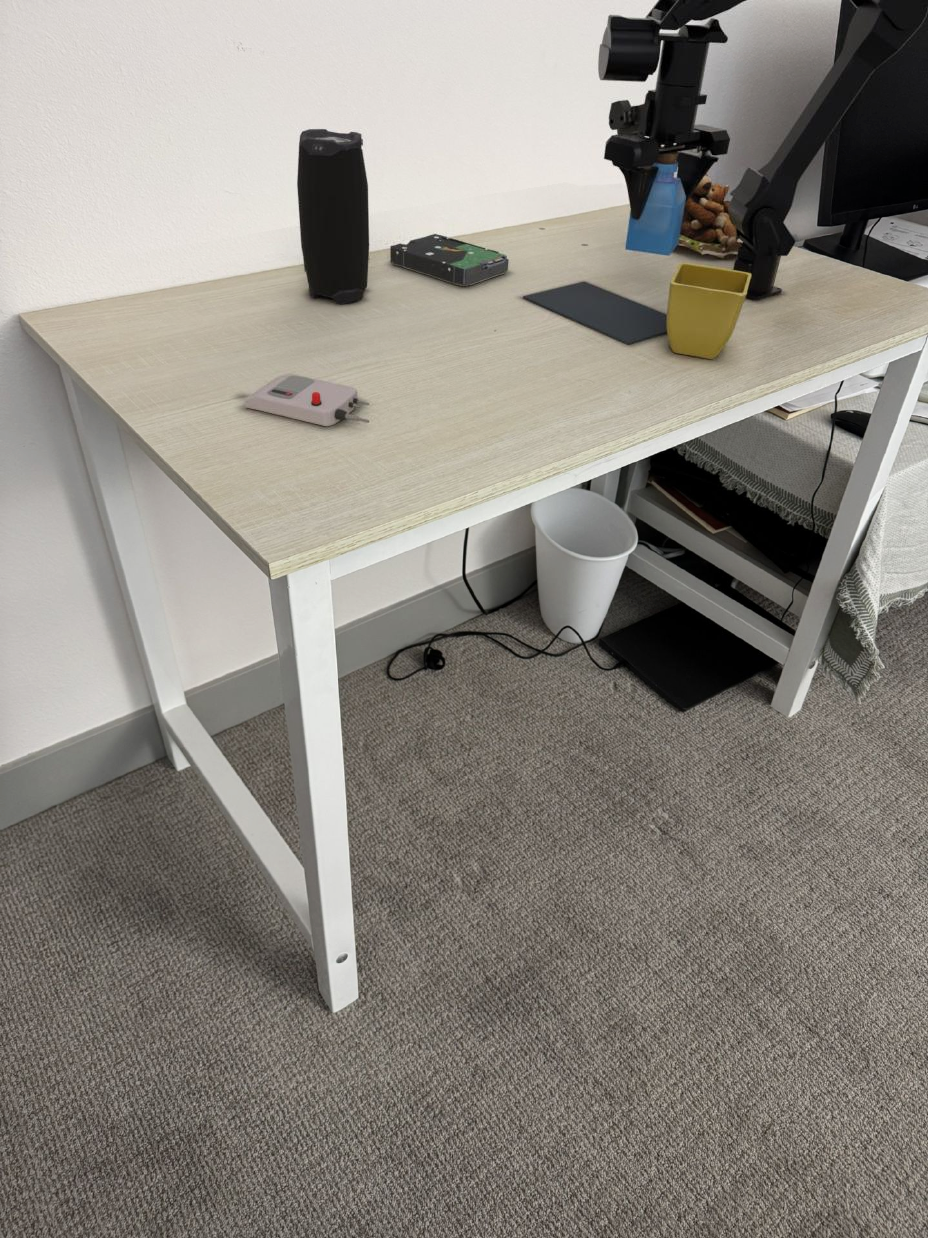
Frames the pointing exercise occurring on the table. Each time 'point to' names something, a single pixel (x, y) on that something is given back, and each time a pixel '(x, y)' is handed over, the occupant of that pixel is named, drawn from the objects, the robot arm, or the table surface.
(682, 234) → the bear figurine
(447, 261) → the disk drive
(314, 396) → the grey electronic control box
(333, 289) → the portable speaker
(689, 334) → the flower pot
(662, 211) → the perfume bottle
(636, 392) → the table surface
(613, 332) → the desk mat
